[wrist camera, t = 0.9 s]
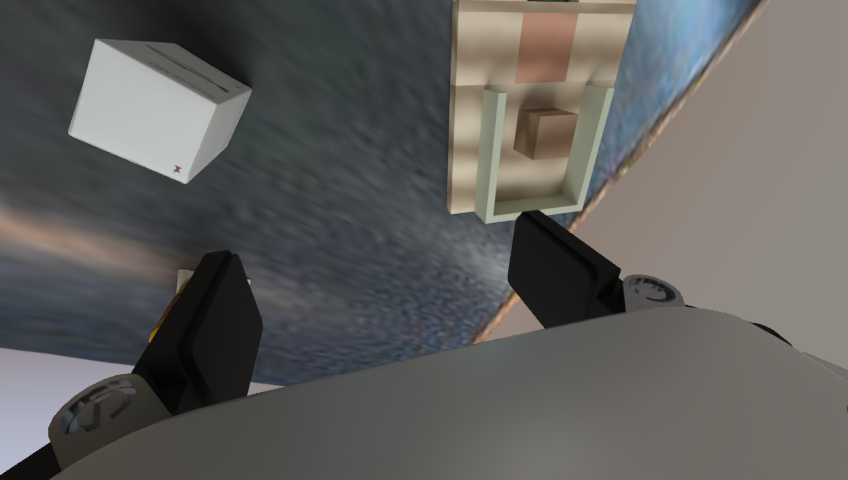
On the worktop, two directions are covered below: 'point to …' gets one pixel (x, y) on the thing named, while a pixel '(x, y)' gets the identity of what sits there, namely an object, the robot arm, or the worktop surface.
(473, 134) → the board
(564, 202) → the low bay
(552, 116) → the walnut block
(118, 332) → the worktop surface
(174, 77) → the supplement box
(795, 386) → the robot arm
